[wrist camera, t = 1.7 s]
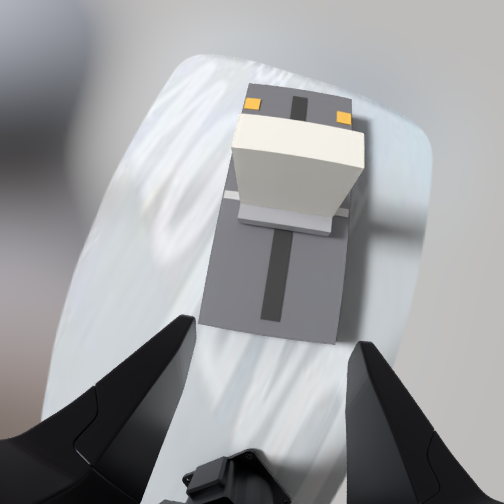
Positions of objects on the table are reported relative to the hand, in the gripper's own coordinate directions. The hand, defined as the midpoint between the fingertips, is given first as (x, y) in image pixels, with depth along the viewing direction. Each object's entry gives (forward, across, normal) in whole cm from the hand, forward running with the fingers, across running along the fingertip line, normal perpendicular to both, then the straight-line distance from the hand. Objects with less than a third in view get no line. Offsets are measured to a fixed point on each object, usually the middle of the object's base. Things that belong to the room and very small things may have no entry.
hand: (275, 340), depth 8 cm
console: (+16, 0, +3) cm, 17 cm away
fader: (+14, 0, +2) cm, 14 cm away
